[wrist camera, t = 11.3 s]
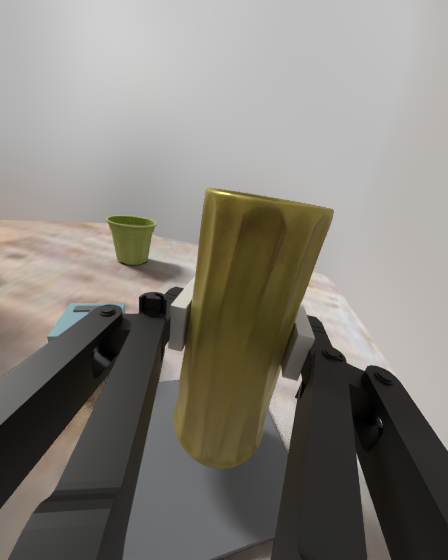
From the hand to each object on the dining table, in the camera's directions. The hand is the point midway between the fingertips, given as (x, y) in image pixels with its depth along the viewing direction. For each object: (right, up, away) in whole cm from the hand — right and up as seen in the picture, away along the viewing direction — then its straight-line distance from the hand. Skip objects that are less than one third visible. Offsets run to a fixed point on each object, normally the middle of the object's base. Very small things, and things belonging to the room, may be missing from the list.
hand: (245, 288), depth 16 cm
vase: (-2, -9, -2) cm, 9 cm away
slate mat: (-3, -12, 0) cm, 12 cm away
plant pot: (-22, +5, +30) cm, 37 cm away
